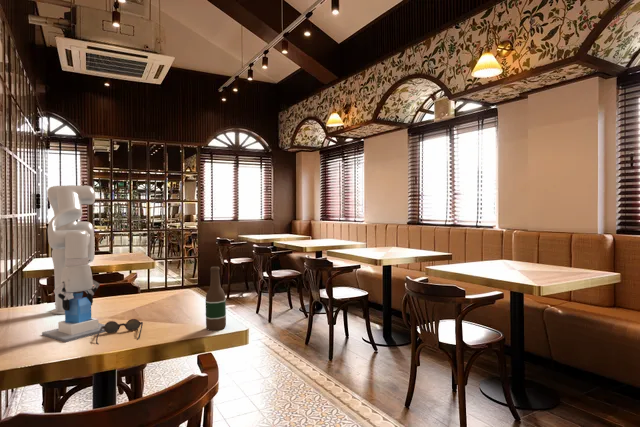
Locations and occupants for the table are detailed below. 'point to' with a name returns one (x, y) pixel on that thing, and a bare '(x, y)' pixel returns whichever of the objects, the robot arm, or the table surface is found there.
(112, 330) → the eyeglasses
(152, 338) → the table surface
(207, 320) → the beer bottle
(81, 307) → the perfume bottle
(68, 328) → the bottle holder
